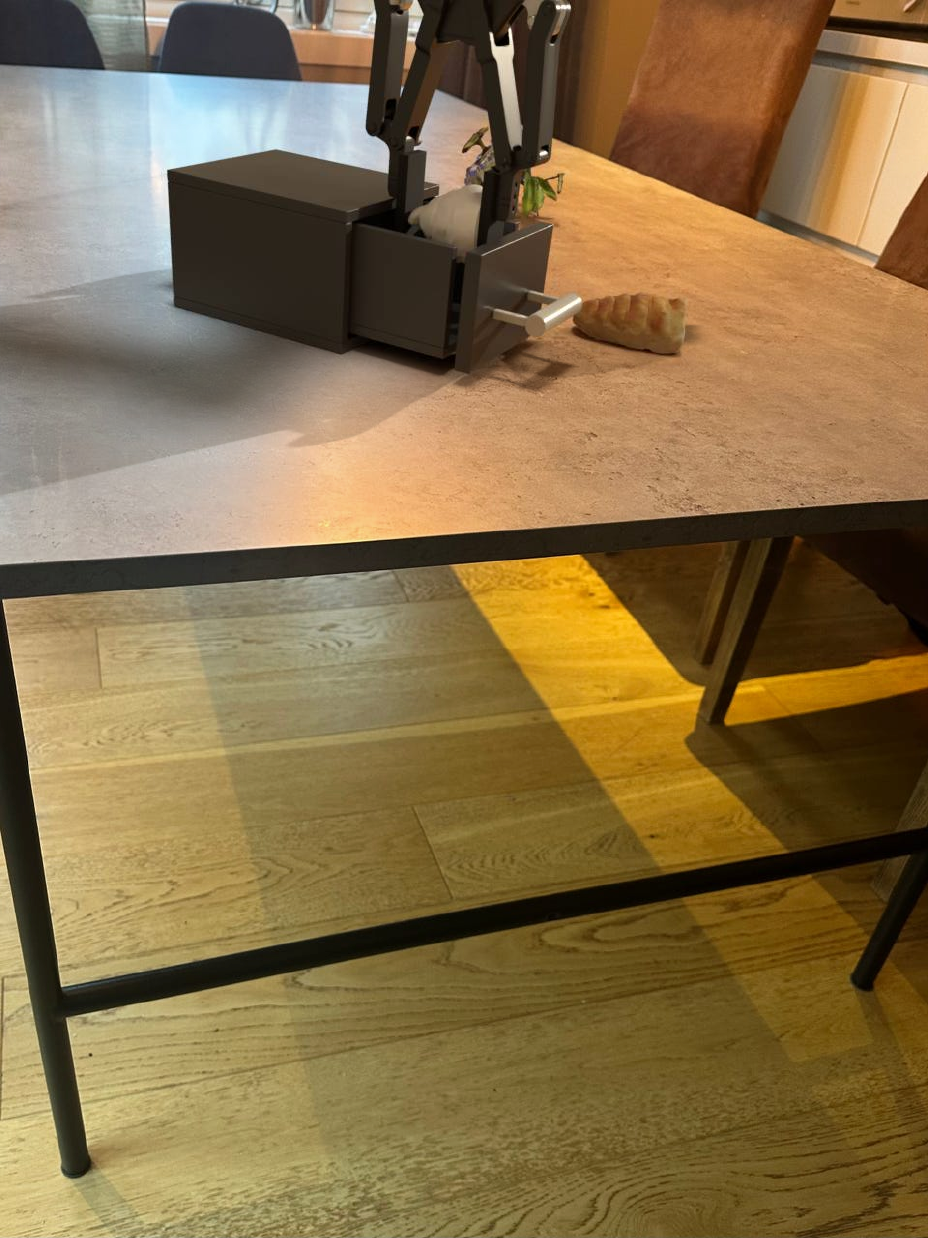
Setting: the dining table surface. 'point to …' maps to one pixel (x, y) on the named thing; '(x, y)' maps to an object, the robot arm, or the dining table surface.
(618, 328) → the pastry
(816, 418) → the dining table surface
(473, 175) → the passion flower
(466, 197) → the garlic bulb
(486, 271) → the drawer
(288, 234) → the cabinet
